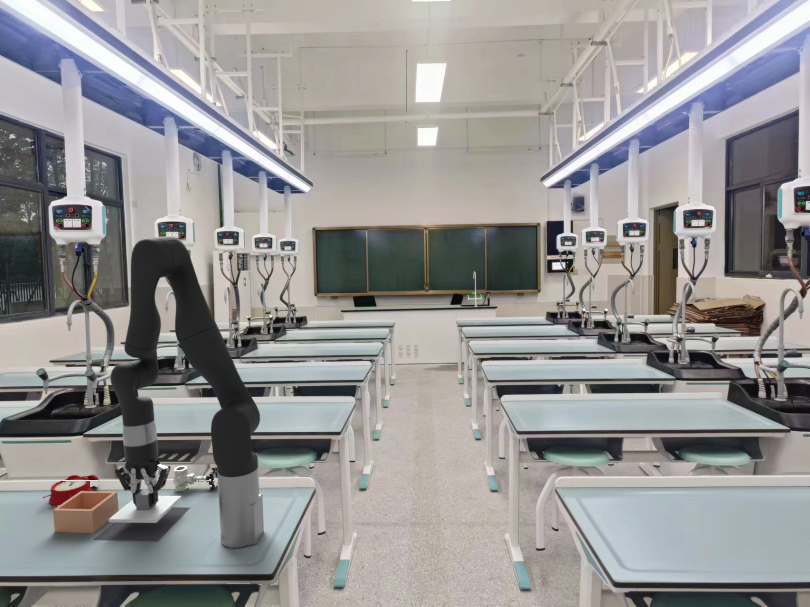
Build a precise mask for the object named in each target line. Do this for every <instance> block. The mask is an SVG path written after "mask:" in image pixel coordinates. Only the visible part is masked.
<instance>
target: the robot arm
mask: <svg viewBox="0 0 810 607" xmlns="http://www.w3.org/2000/svg"><path fill="white" fill-rule="evenodd" d="M187 248H188V247H186V245H185V244H184V242H183V241H181V239H179V238H178V237H176V236H172V235H171V236H169V235H168V236H167V235H166V236H157V237H148V238H142V239H140V240H139V241H137V242H136V243H135V244H134V246H133V248H132V251H131V255H130V256H131V257H130V258H131V259H130V311H129V312H130V314H129V320H128V326H127V331H126V335H125V336H126V337H125V341H124V348H123V349H124V352H125V353H126V355H128V356H129V357H131V358H134V359H136V360H133V361H132V360H131V361H128V362H123V363H119V364H117V365H115V366H114V367H113V368H112V370H111V372H110V377H109V378H110V379H109V380H110V384H111V387H112V389H113V391H114V393H115V395H116V397H117V401H118V403H119V406H120V409H121V416H122V442H123V453H124V461H125V464H124V465H123V464H122V465H121V466H119V467H118V468H116V469H115V471H114V473H115V474H116V476H117V478H118V480H119V483H120V484H121V486H122V488H123V490H124V491H130V493H132V500H133V503H134V504H135V506H136V497H135V495H136V494H137V493H139V492H140V491H141V490H142V489H143V488H141V487H142V481H144V484H145V486H146V487H147V489H148V491H149V493H148V494H149V504H150V507H153V506H154V505H155V504H156V503H157V502H158V496H159V492H158V491H160V490H162V489H163V487H165V486H166V483H167V480H168V476H169V474H170V471H171V465H169V464H167V465H164V464H161V462H160V460H159V445H158V435H157V434H158V433H157V432H158V431H157V426H156V421H155V411H154V401H153V400H152V398H150V397H148V396H137V395H136V392H135V390H140V389H144V388H146V387H150V386H153V384H154V383H155V382H157V380H158V377H159V375H160V374H159V373H160V368H159V363H158V362H159V361H158V352H157V351H158V350H157V349H158V344H159V340H160V339H159V338H160V336H161V335H160V334H161V330H162V320H161V315H160V313H159V309H158V306H157V304H156V290H157V288H158V284H159V281H160V279H161V278H166V279H167V280H168V282H169V285H170V288H171V289H172V292H173V295H174V300H175V317H174V331H175V336H176V340H177V341H178V344H179V346H180V348H181V350H182V353H183V354H184V357H185V358H186V360H187V362H188V364H190V366H191V367H192V368H193V369H194V370H195V372H197V373H198V374H199V375H200V377H202V378H203V379H204V380H205V381H206V382H207V383H208V384H209V386H210V387H211V388H212V389H213V392H214V394H215V396H216V398H217V401H218V403H219V406H220V409H219V410H218V411H217V412H216V413H215V414H214V415H213V418H212V419H211V423H210V438H211V449H212V457H213V461H214V464H215V465H216V467H217V472H218V484H217V488H218V490H217V491H218V507H219V508H218V509H219V510H218V511H219V528H220V530H219V531H220V533H219V534H220V542H221V544H222V545H223V546H225V547H226V548H230V549H231V548H233V549H237V548H238V549H239V547H240V548H244V546H245V547H248V546H250V545H252V546H253V545H257V543H258V541H259V539H260V538H261V536H263V534H264V531H265V527H264V526H265V525H264V502H263V500H264V499H263V494H260V484H259V482H260V480H259V458H258V455H257V453H255V452H253V448H252V435H253V434H254V433H255V431H256V430H257V429H258V427H259V425H260V422H261V413H260V410H259V408H258V406H257V403H256V402H255V400H254V399H253V397H252V396H251V393H250V392H249V390H248V388H247V387H246V385H245V384H244V381H243V380H242V378H241V376H240V374H239V372H238V369H237V367H236V365H235V363H234V360H233V357H232V356H231V354H230V352H229V350H228V347H227V344H226V343H225V342H226V341H225V340H224V338H223V335H222V333H221V331H220V328H219V327H218V324H217V322H216V320H215V318H214V316H213V313H212V311H211V310H210V307H209V305H208V302H207V300H206V297H205V295H204V293H203V290H202V288H201V285H200V282H199V279H198V276H197V272H196V270H195V267H194V264H193V262H192V258H191V255H190V253H189V251H188V249H187ZM157 472H158V473H157ZM157 474H158V475H159V476H158V475H157ZM247 545H248V546H247Z"/></svg>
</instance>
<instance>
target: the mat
mask: <svg viewBox="0 0 810 607" xmlns="http://www.w3.org/2000/svg"><path fill="white" fill-rule="evenodd" d="M190 508H191V507H187V506H186V507H184V506H183V507H180V506H179V507H177V506H173V507H172V508H171V509H170V510H169V511H168V512H167V513H166V514H165V515H164V516H163V517H162V518H161V519H160V520H159V521H158V522H157V523H124V522H112V524H110V525H109V526H107V528H105V529H104V530H103V531H102V532H101V533H100V534H98V535H97V536H96V537H95V538H93V541H116V542H117V541H122V542H125V541H126V542H129V541H130V542H132V541H133V542H159V541H160V540H162V539H163V537H164V536H165V535H166V534H167V533H168V532H169V531H170V530H171V529H172V528H173V527H174V526H175V524H177V522H178V521H179V520H180V519H181V518H182V517H183V516H184V515H185V514H186V513H187V512H188V511H189V510H190Z"/></svg>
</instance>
